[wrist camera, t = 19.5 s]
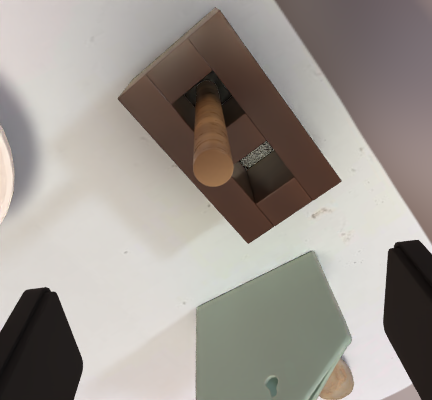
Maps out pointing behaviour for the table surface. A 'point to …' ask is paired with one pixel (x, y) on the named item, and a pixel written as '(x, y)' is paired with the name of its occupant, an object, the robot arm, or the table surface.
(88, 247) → the table surface
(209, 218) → the table surface
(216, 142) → the stirring stick
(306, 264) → the planter
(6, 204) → the bowl
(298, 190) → the holder
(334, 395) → the stone
